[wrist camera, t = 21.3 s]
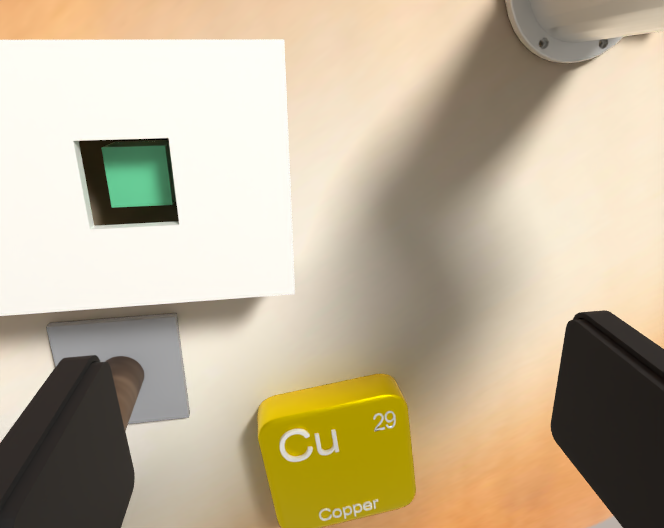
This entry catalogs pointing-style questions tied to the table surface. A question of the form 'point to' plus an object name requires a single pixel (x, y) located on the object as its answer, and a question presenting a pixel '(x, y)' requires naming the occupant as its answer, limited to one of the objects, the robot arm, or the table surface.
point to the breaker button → (139, 173)
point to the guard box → (187, 164)
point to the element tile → (337, 451)
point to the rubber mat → (133, 357)
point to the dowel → (126, 383)
